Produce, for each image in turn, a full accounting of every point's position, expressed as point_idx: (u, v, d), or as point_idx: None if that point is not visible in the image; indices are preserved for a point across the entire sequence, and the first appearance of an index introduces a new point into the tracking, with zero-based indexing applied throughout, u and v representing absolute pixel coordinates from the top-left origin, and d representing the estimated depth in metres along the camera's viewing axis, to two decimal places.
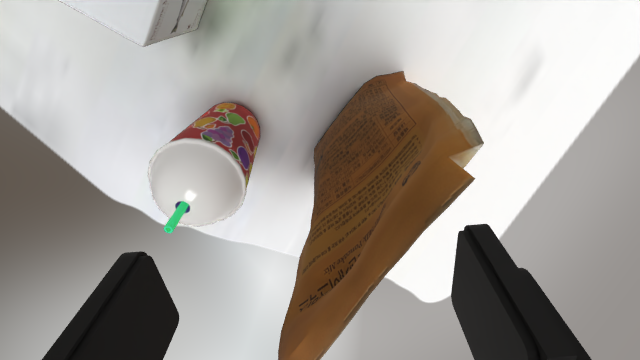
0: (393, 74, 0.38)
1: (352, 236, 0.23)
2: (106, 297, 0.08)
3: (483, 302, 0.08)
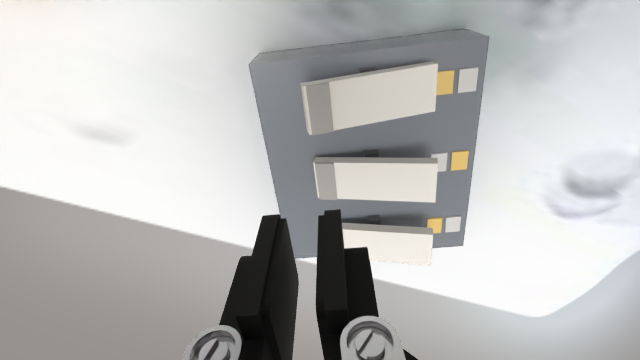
0: None
1: None
2: (270, 249, 0.09)
3: None
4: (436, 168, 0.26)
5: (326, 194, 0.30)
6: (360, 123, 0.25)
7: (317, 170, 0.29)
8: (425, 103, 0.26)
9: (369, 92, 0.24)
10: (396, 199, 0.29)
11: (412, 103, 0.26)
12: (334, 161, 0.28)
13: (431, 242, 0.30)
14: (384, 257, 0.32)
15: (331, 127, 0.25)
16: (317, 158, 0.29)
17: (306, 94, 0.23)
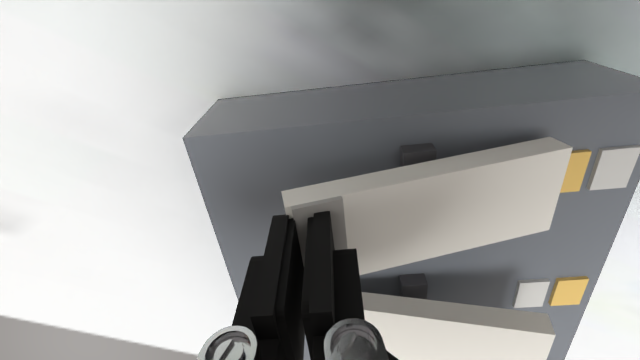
0: None
1: None
2: (282, 249, 0.09)
3: None
4: (550, 341, 0.13)
5: None
6: (405, 260, 0.13)
7: None
8: (533, 219, 0.13)
9: (427, 208, 0.12)
10: None
11: (510, 220, 0.13)
12: None
13: None
14: None
15: None
16: None
17: None
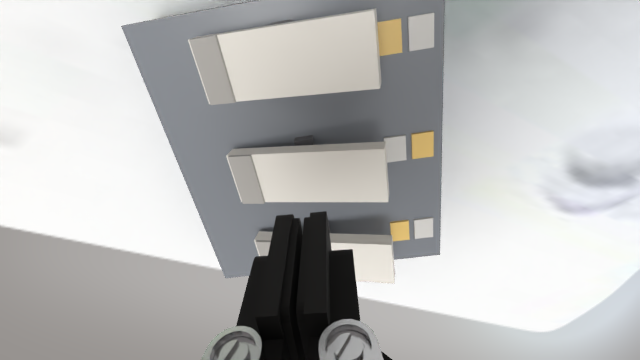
0: None
1: None
2: (286, 249, 0.09)
3: None
4: (383, 155, 0.19)
5: (249, 197, 0.23)
6: (269, 95, 0.19)
7: (232, 166, 0.22)
8: (361, 75, 0.17)
9: (273, 52, 0.18)
10: (338, 200, 0.21)
11: (341, 73, 0.17)
12: (252, 153, 0.21)
13: (390, 254, 0.23)
14: None
15: (231, 96, 0.19)
16: (233, 150, 0.22)
17: (193, 50, 0.18)
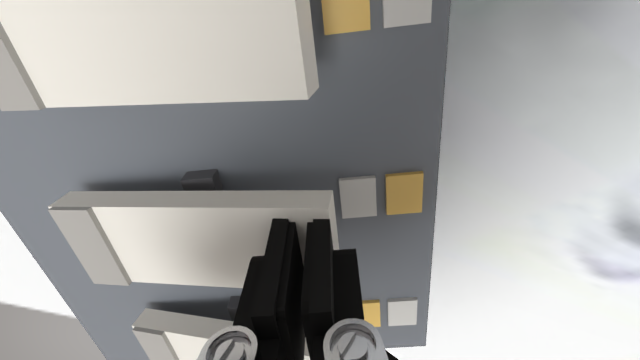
0: None
1: None
2: (282, 249, 0.09)
3: None
4: None
5: (103, 274, 0.13)
6: (100, 99, 0.09)
7: (62, 224, 0.12)
8: (268, 68, 0.08)
9: (85, 8, 0.08)
10: None
11: (226, 62, 0.08)
12: (95, 203, 0.12)
13: None
14: None
15: (30, 98, 0.10)
16: (68, 194, 0.13)
17: None
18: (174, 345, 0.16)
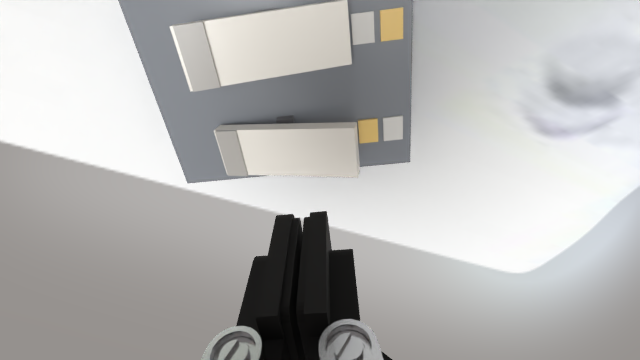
0: None
1: None
2: (286, 249, 0.09)
3: None
4: (346, 7, 0.20)
5: (202, 80, 0.20)
6: None
7: (179, 39, 0.19)
8: None
9: None
10: (302, 69, 0.21)
11: None
12: (203, 21, 0.19)
13: (353, 140, 0.22)
14: (298, 169, 0.24)
15: None
16: (175, 24, 0.19)
17: None
18: (242, 143, 0.24)
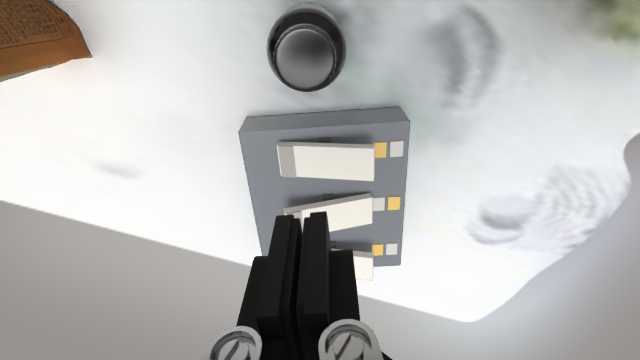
0: (84, 46, 0.36)
1: None
2: (286, 249, 0.09)
3: None
4: (371, 200, 0.38)
5: None
6: (316, 176, 0.36)
7: None
8: (365, 174, 0.34)
9: (321, 157, 0.35)
10: (346, 227, 0.39)
11: (355, 172, 0.34)
12: (300, 209, 0.37)
13: (371, 263, 0.40)
14: None
15: (294, 174, 0.36)
16: (285, 209, 0.37)
17: (278, 150, 0.35)
18: None
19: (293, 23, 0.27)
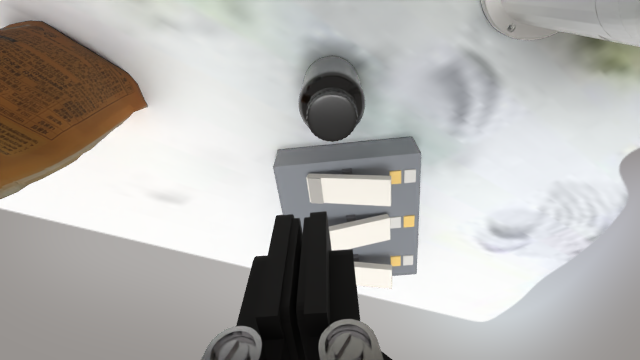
0: (141, 98, 0.42)
1: None
2: (286, 249, 0.09)
3: None
4: (389, 220, 0.44)
5: None
6: (340, 202, 0.42)
7: None
8: (383, 200, 0.40)
9: (345, 187, 0.40)
10: (368, 243, 0.45)
11: (374, 199, 0.40)
12: None
13: (390, 274, 0.46)
14: (361, 283, 0.48)
15: (322, 201, 0.42)
16: None
17: (308, 181, 0.41)
18: None
19: (321, 86, 0.32)
